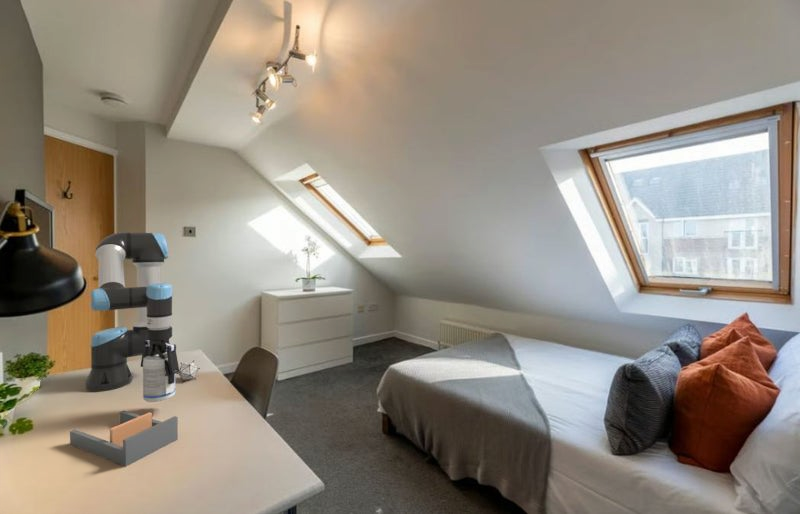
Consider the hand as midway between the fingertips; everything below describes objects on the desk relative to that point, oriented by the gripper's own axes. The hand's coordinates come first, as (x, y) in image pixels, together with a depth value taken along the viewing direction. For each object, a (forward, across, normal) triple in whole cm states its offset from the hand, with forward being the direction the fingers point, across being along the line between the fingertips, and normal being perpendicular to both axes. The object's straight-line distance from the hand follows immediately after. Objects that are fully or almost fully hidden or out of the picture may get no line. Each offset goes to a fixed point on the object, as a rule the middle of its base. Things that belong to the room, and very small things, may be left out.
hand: (159, 389), depth 124 cm
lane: (+8, +9, -17) cm, 21 cm away
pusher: (+7, +15, -17) cm, 24 cm away
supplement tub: (+3, 0, 0) cm, 3 cm away
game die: (+9, -18, +25) cm, 32 cm away
